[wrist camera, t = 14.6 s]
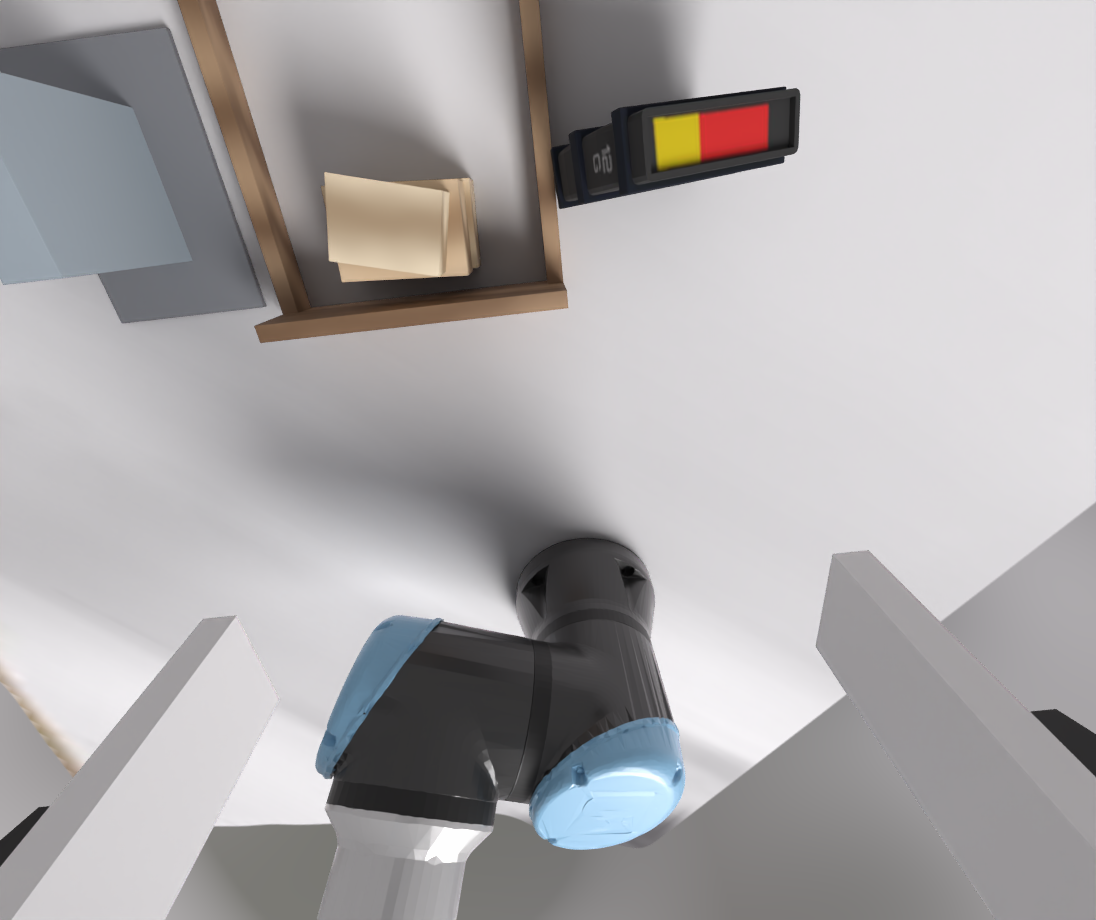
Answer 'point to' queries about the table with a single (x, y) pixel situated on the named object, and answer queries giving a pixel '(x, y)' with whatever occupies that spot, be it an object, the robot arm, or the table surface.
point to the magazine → (676, 144)
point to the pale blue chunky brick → (77, 188)
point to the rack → (274, 237)
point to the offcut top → (386, 225)
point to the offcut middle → (456, 243)
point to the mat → (181, 161)
